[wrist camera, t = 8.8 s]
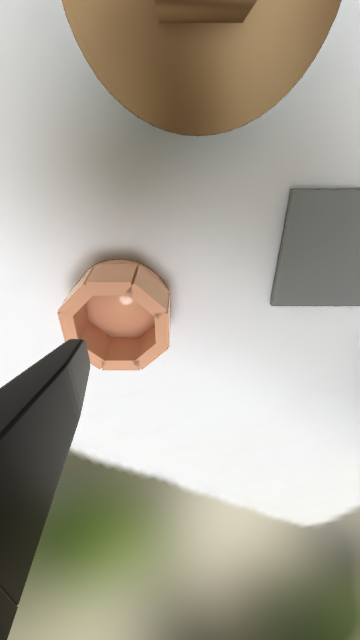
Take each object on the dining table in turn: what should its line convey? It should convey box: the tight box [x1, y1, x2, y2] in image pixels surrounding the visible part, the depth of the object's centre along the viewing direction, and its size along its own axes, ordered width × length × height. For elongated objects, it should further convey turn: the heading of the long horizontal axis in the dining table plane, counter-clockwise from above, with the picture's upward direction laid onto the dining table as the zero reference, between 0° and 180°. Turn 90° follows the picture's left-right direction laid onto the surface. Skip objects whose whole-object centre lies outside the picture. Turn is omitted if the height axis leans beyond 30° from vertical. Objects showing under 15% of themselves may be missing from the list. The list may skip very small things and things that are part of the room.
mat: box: [271, 189, 360, 306], centre depth 21 cm, size 10×8×1 cm
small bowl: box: [58, 259, 170, 370], centre depth 22 cm, size 7×7×4 cm
